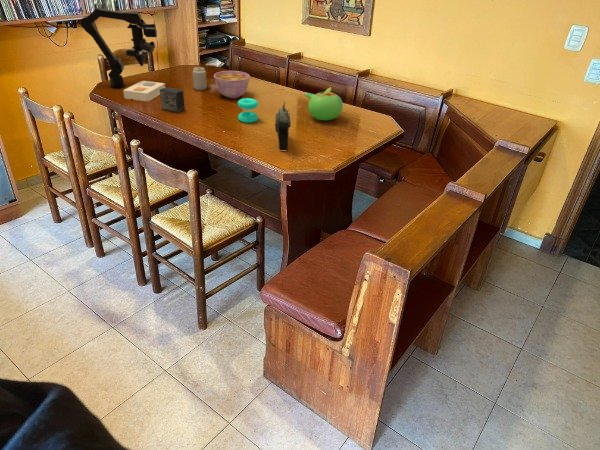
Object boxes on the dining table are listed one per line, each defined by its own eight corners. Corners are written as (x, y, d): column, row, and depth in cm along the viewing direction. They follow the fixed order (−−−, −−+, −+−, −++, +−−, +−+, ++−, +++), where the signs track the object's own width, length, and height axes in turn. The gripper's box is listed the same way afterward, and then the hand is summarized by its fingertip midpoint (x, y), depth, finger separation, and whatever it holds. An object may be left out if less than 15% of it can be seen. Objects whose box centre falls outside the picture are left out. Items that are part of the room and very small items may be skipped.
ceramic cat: (290, 153, 195) (291, 108, 184) (275, 153, 194) (276, 108, 183) (287, 135, 211) (289, 93, 200) (273, 135, 211) (274, 93, 200)
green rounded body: (316, 126, 223) (318, 97, 215) (301, 115, 235) (302, 87, 227) (347, 122, 230) (350, 94, 222) (330, 111, 242) (332, 84, 234)
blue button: (143, 90, 252) (142, 84, 250) (148, 88, 256) (147, 82, 254) (151, 91, 251) (150, 85, 249) (156, 89, 255) (155, 83, 253)
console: (124, 98, 243) (123, 90, 240) (143, 88, 259) (142, 80, 257) (148, 101, 241) (146, 93, 238) (165, 91, 257) (164, 83, 254)
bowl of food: (208, 97, 251) (206, 76, 245) (226, 88, 267) (225, 68, 260) (239, 103, 245) (238, 82, 239) (255, 94, 261) (255, 74, 255)
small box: (185, 109, 233) (183, 89, 228) (177, 113, 228) (175, 93, 223) (169, 106, 237) (167, 86, 231) (161, 109, 232) (158, 89, 226)
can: (208, 87, 267) (207, 66, 260) (204, 91, 261) (203, 70, 254) (196, 86, 267) (194, 65, 261) (192, 90, 261) (190, 69, 254)
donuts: (252, 96, 226) (261, 102, 219) (252, 115, 231) (261, 121, 225) (234, 98, 221) (243, 105, 214) (235, 118, 227) (243, 124, 220)
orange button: (134, 96, 244) (133, 89, 242) (139, 93, 248) (138, 87, 246) (142, 97, 243) (141, 90, 241) (147, 94, 247) (146, 88, 245)
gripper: (142, 41, 237) (146, 71, 246) (159, 35, 253) (162, 63, 261) (123, 39, 239) (127, 69, 248) (141, 33, 255) (145, 61, 263)
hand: (141, 65), depth 255 cm, fingers closed
